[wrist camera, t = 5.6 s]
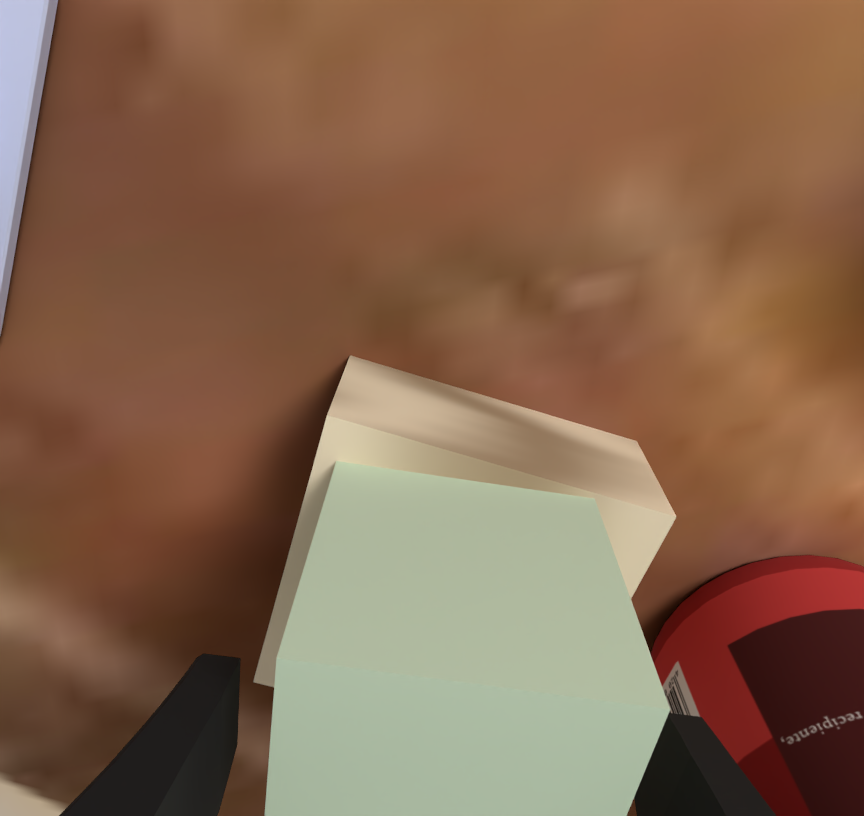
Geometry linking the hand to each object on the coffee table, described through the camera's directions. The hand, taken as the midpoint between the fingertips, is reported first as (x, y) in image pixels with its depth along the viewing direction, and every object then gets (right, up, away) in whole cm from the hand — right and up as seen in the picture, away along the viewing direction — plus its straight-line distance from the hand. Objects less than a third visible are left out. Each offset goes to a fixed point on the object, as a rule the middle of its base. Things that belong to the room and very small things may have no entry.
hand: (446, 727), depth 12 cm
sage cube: (0, +2, +3) cm, 3 cm away
